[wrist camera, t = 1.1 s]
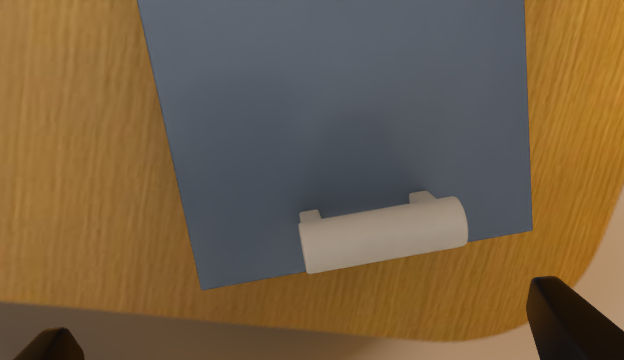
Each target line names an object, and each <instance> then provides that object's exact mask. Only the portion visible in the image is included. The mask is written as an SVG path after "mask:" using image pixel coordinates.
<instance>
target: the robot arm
mask: <svg viewBox="0 0 624 360" xmlns="http://www.w3.org/2000/svg"><path fill="white" fill-rule="evenodd" d="M526 311H527V317H528V321H529V324H530V327H531V330H532V334H533V337H534V341H535V344H536V347H537V350H538V354H539V357H540V360H624V331H623V330H621V329H620V328H619V327H618V326H616V325H615V324H614V323H613V322H612V321H610V320H609V319H608V318H607V317H606V316H604V315H603V314H602V313H600V312H599V311H598V310H597V309H596V308H595V307H593V306H592V305H591V304H590V303H588V302H587V301H586V300H585V299H583V298H582V297H581V296H580V295H579V294H577V293H576V292H575V291H574V290H572V289H571V288H570V287H569V286H568V285H566V284H565V283H564V282H563V281H561V280H560V279H559V278H557V277H555V276H544V277H536V278H533V279H532V280H531V283H530V288H529V294H528V299H527V305H526ZM13 360H84V353H83V350H82V348H81V347H80V345H79V344H78V343H77V341H76V340H75V338H74V337H73V336H72V334H71V332H70V331H69V330H68V329H67V328H65V327H59V328H50V329H46V330H43V331H42V332H41V333H40V334H38V335H37V337H35V339H34V340H32V341H31V342H30V344H28V345H27V346H26V348H24V349H23V350H22V351H21V352H20V353H19V354H18V355H17V356H16V357H15V358H14V359H13Z"/></svg>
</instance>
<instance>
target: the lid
mask: <svg viewBox="0 0 624 360" xmlns="http://www.w3.org/2000/svg"><path fill="white" fill-rule="evenodd" d="M137 3H138V8H139V12H140V17H141V21H142V26H143V30H144V35H145V39H146V44H147V48H148V53H149V57H150V62H151V66H152V71H153V75H154V80H155V84H156V89H157V93H158V98H159V102H160V107H161V111H162V116H163V120H164V125H165V129H166V134H167V138H168V143H169V147H170V152H171V156H172V161H173V165H174V170H175V174H176V179H177V183H178V188H179V192H180V197H181V201H182V206H183V210H184V215H185V219H186V224H187V228H188V233H189V237H190V242H191V246H192V251H193V255H194V260H195V264H196V269H197V273H198V278H199V282H200V287H201V290H207V289H213V288H218V287H224V286H229V285H235V284H240V283H246V282H251V281H257V280H262V279H268V278H273V277H279V276H284V275H290V274H295V273H301V272H307V273H308V274H313V273H319V272H324V271H330V270H335V269H341V268H346V267H352V266H357V265H363V264H368V263H374V262H379V261H385V260H390V259H396V258H401V257H407V256H412V255H418V254H423V253H429V252H434V251H440V250H445V249H451V248H456V247H462V246H464V245H465V244H466V243H467V242H472V241H477V240H483V239H488V238H494V237H499V236H505V235H510V234H516V233H521V232H527V231H532V230H533V228H532V200H531V173H530V146H529V119H528V92H527V64H526V37H525V10H524V0H137Z"/></svg>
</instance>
